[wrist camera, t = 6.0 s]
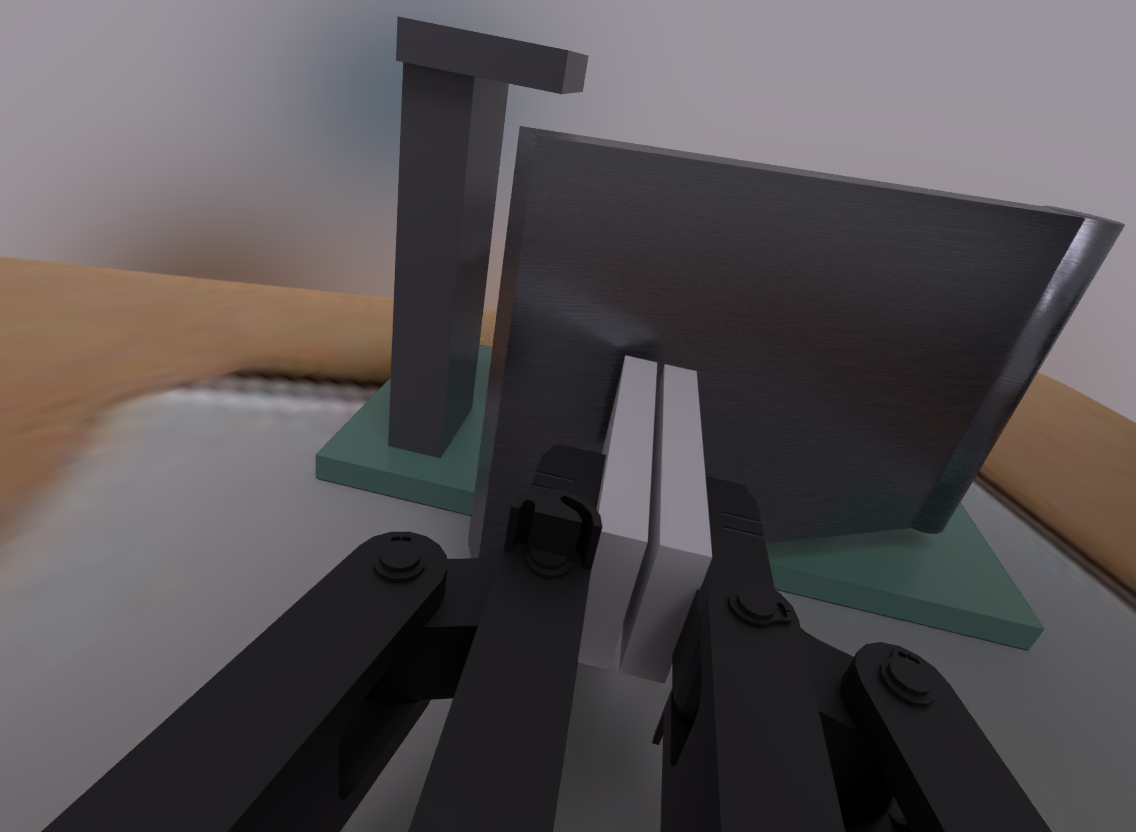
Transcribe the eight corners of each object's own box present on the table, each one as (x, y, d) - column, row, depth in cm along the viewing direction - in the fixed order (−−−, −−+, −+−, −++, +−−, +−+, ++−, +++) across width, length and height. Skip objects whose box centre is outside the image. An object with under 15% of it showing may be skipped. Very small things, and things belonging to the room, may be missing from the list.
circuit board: (913, 461, 32) (922, 444, 31) (1028, 649, 21) (1044, 629, 21) (432, 351, 33) (433, 334, 33) (316, 477, 23) (315, 454, 22)
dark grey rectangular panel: (915, 497, 25) (1072, 209, 19) (956, 531, 23) (1141, 228, 18) (465, 534, 18) (514, 123, 13) (479, 584, 17) (542, 139, 11)
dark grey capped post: (529, 422, 26) (590, 56, 20) (503, 481, 23) (568, 50, 16) (426, 398, 27) (452, 28, 20) (382, 452, 23) (397, 16, 16)
